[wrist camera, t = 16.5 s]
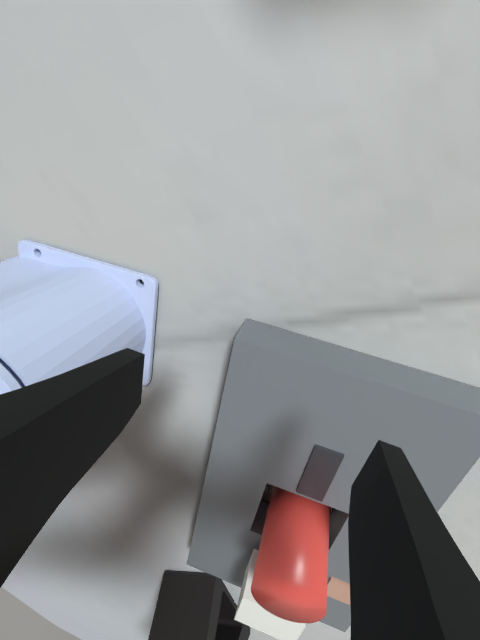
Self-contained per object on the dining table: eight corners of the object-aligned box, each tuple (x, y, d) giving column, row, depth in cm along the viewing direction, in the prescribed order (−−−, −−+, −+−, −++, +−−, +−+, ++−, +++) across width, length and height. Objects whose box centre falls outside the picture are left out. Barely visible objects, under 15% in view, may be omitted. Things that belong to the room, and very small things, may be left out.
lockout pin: (269, 496, 25) (245, 603, 19) (279, 459, 23) (256, 565, 17) (322, 514, 24) (315, 632, 18) (337, 478, 23) (335, 596, 16)
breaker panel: (198, 534, 30) (185, 566, 27) (246, 318, 19) (233, 340, 17) (344, 594, 28) (344, 635, 25) (485, 389, 17) (508, 425, 15)
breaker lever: (245, 570, 25) (234, 619, 22) (253, 548, 23) (242, 597, 21) (298, 593, 24) (293, 645, 21) (310, 571, 23) (306, 625, 20)
